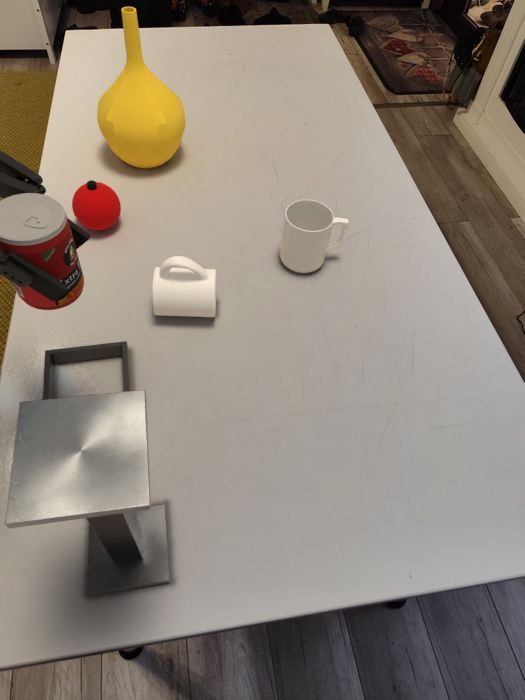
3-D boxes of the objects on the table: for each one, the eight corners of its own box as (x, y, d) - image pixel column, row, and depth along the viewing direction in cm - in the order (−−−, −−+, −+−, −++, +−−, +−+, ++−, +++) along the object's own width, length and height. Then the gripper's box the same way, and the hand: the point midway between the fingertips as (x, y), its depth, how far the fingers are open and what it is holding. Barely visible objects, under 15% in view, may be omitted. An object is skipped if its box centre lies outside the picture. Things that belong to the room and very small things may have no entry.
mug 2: (282, 277, 99) (289, 232, 90) (275, 245, 104) (281, 199, 95) (343, 274, 101) (356, 230, 92) (333, 242, 106) (344, 197, 97)
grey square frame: (133, 418, 79) (130, 408, 77) (47, 430, 77) (41, 420, 75) (129, 351, 86) (126, 340, 84) (49, 360, 84) (44, 350, 82)
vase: (98, 178, 112) (66, 28, 88) (112, 130, 123) (86, -15, 99) (183, 182, 113) (175, 36, 89) (189, 135, 124) (183, -7, 100)
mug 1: (214, 326, 91) (214, 279, 81) (155, 325, 90) (147, 276, 80) (216, 291, 96) (216, 242, 86) (160, 289, 95) (153, 240, 85)
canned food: (71, 317, 60) (47, 246, 51) (5, 305, 61) (-30, 232, 52) (95, 271, 65) (77, 199, 56) (34, 260, 65) (6, 186, 56)
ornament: (75, 212, 105) (64, 170, 97) (120, 207, 107) (113, 165, 99) (79, 242, 100) (67, 200, 92) (126, 236, 102) (119, 194, 94)
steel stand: (84, 600, 64) (4, 524, 40) (87, 512, 70) (19, 401, 46) (174, 586, 66) (149, 505, 42) (169, 501, 72) (145, 389, 48)
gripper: (-102, 85, 55) (81, 224, 68) (-232, 209, 42) (22, 349, 55) (-75, 37, 50) (115, 195, 63) (-210, 160, 38) (60, 324, 51)
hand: (72, 267), depth 59 cm, fingers closed on canned food, 8 cm apart
